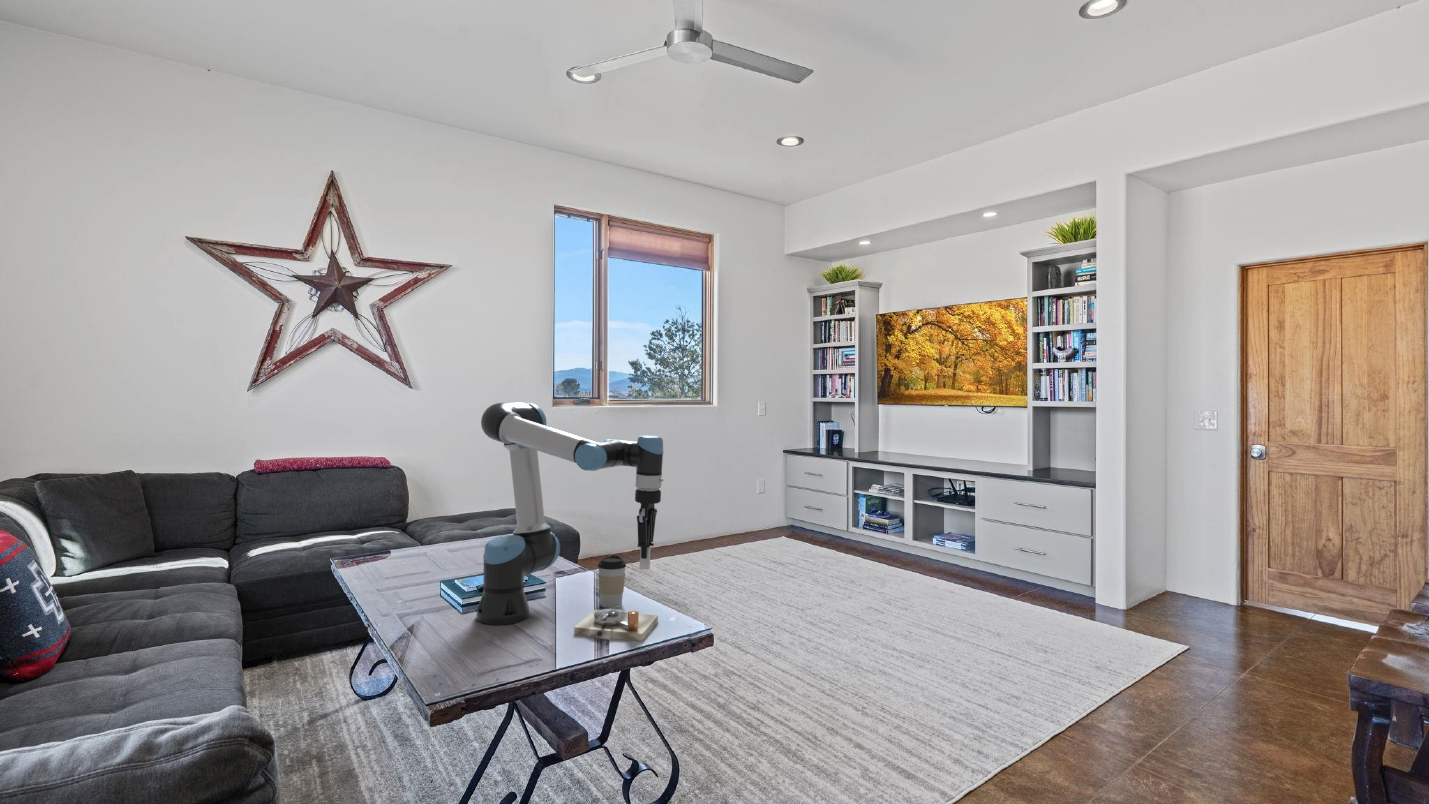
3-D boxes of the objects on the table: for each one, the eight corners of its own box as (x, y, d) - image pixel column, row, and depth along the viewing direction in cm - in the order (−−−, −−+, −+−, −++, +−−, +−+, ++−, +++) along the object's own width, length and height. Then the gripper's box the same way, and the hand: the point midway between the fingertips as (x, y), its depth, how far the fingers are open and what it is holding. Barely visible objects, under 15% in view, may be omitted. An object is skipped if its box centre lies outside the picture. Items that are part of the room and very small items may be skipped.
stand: (571, 636, 191) (571, 628, 191) (594, 615, 208) (594, 608, 208) (639, 643, 187) (640, 635, 187) (657, 622, 205) (657, 614, 205)
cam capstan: (585, 621, 197) (585, 605, 197) (611, 613, 204) (611, 597, 204) (621, 635, 186) (622, 618, 186) (648, 626, 194) (648, 610, 194)
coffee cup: (619, 609, 215) (620, 562, 214) (592, 607, 216) (593, 560, 216) (628, 601, 223) (630, 555, 223) (602, 598, 225) (603, 553, 225)
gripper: (654, 493, 193) (650, 575, 193) (666, 486, 205) (662, 564, 206) (629, 490, 194) (625, 573, 195) (642, 484, 207) (639, 561, 207)
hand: (644, 568), depth 200 cm, fingers closed
